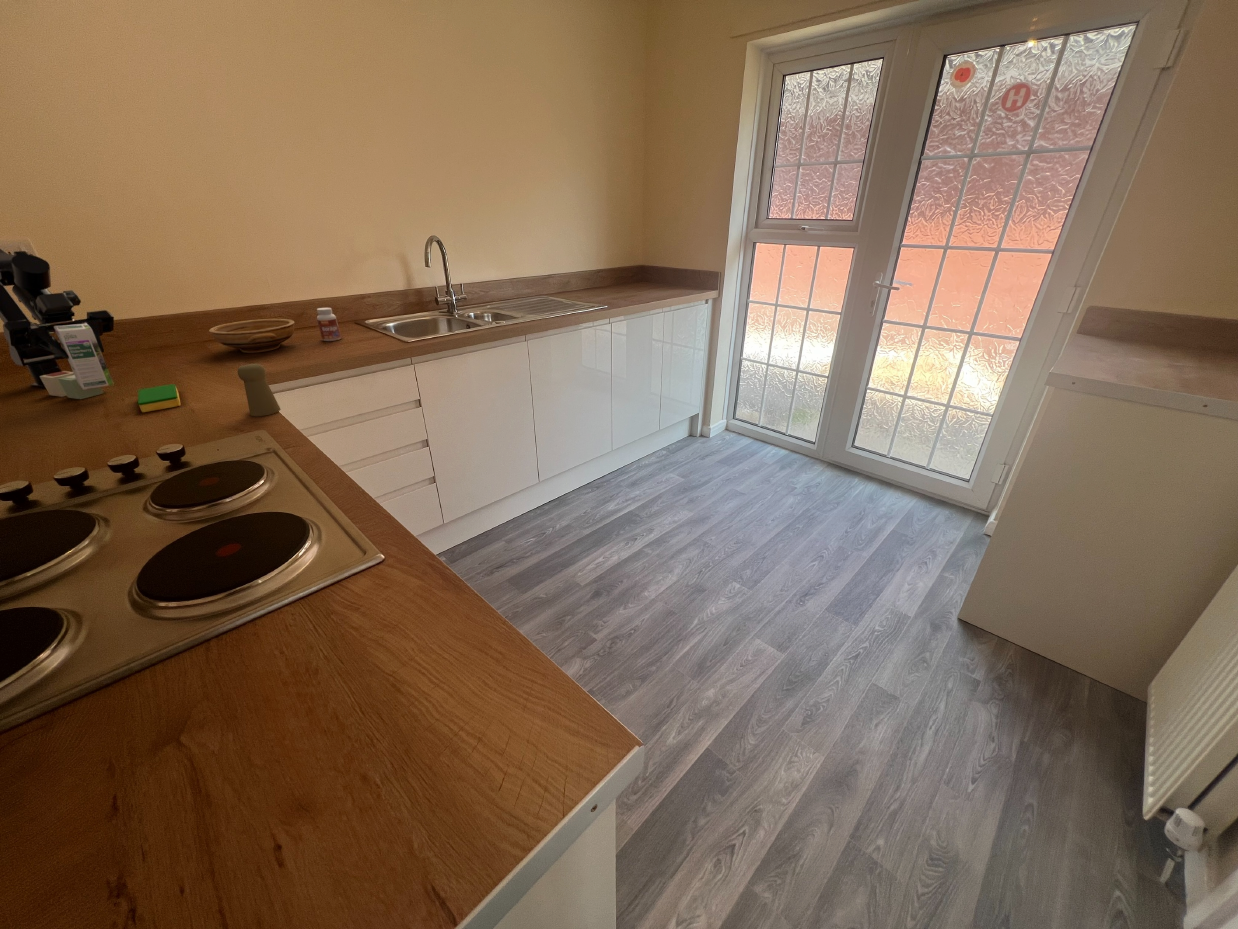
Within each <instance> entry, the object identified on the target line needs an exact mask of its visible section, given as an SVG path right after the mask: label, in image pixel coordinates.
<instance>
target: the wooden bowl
mask: <svg viewBox="0 0 1238 929" xmlns="http://www.w3.org/2000/svg"><path fill="white" fill-rule="evenodd" d="M208 331H209V333H210V334H211V336H212V337H213V338H214V339H215V340H216V342H217V343H220V344H222V345H223V346H225V347H230V348H233V349H237V350H240V351H241V352H242V353H248V354H251V353H261V352H262V353H264V352H269V351H274V350H277V349H279V348H280V345H281V344H283V343H284V342H286V341H287V340H289V339H290V338H292V336H293V334H294V332H295V321H294V320H293V319H288V318H263V319H262V318H260V319H250V320H249V319H248V320H242V321H234V322H229V323H224V324H219V325H216V326H213V327H211V328H210V329H208Z"/></svg>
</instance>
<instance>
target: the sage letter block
mask: <svg viewBox="0 0 1238 929" xmlns="http://www.w3.org/2000/svg"><path fill="white" fill-rule="evenodd" d="M59 381H60V383H61V385H62V387H63V389H64V391H65V393H66V395H67V396H66V397H67V398H68V399H73V400H74V399H75V400H84V399H87V398H91V397H95V396H96V397H97V396H100V395H103V394H104V391H103V387H98V388H91V389H86V390H83V389H82V387H81V386H80V385H79V383H78V382H77V379H76V377H75V375H72V376H68V377H63V378H59Z"/></svg>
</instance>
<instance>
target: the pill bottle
mask: <svg viewBox="0 0 1238 929" xmlns="http://www.w3.org/2000/svg"><path fill="white" fill-rule="evenodd" d="M332 309H333V308H332V307H318V308H316V312H317V314H318V315H317V316H316V321H317V326H318V328H319V333H320V336H321V340H322V341H323V342H334V341H339V340H341V339H342V334H341V331H340V327H339V324H338V320H337V316H336V315H335V314H334V313H333V310H332Z"/></svg>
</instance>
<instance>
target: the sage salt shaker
mask: <svg viewBox="0 0 1238 929" xmlns="http://www.w3.org/2000/svg"><path fill="white" fill-rule="evenodd" d="M266 371H267V370H266V368H265V367H264V366H263V365H262V364H260V363H248V364H243V365H240V366H239V367H238V368H237V375H238V378H239V379H240V380H241V381H243V385H244V390H245V395H246V400H247V405H248V406H247V407H248V411H249V415H250V416H251V417H263V416H264V417H265V416H270V415H273V414H277V413H278V412H280V411H281V407H280V405H279V403H278V400H277V399H276V397H275V395H274V393H273V391H272V388H271V387H270V385H269V383H268V381H267V379H266V377H267V372H266Z"/></svg>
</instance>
